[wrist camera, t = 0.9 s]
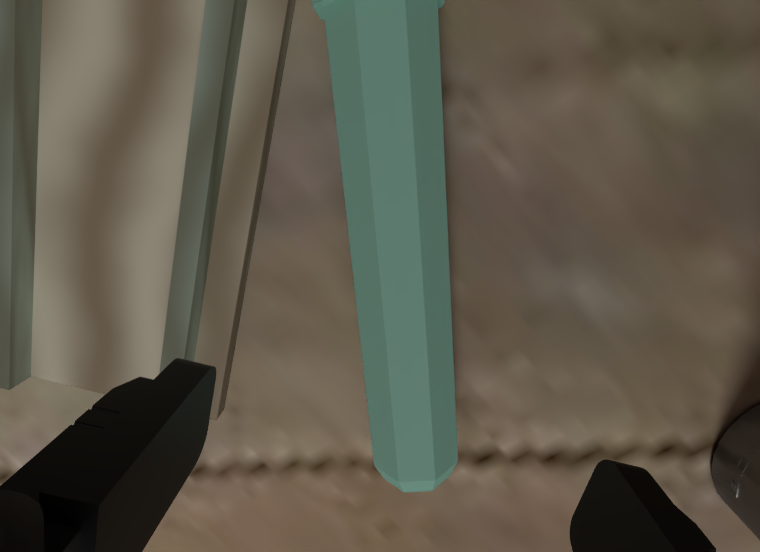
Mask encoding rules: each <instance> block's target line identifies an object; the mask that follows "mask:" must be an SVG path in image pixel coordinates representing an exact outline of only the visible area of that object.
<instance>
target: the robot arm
mask: <svg viewBox="0 0 760 552" xmlns="http://www.w3.org/2000/svg"><path fill="white" fill-rule="evenodd" d="M215 381H216V368H215V367H214V366H210V365H206V364H202V363H197V362H193V361H189V360H185V359H180V358H176V359H174V360H173V361H172V362H171V363H170V364H169V365H168V366H167V367H166V368H165V369H164V370H163V371H162V372H161V373H160V374H159V375H158V376H157V377H156V378H155V379H154V380H153V379H149V378H145V377H138V378H136V379H133V380H131V381H129V382H126V383H124V384H122V385H119V386H117V387H115V388H113V389H111V390H110V391H109V392H108V393H107V394H106V395H104V396H103V397H102V398H101V399H100V400H99V401H98V402H96V403H95V404H94V405H93V407H92V409H91V410H89V409H88V410H87V411H86V412H85V413H84V414H83V415H81V416H80V417H79V418H78V419H77V420H76V421H75V423H74V425H70V426H69V427H68V428H67V429H65V430H64V431H63V432H62V433H61V434H60V435H59V436H57V437H56V438H55V439H54V440H53V441H52V442H50V443H49V444H48V445H47V446H46V447H45V448H44V449H42V450H41V451H40V452H39V453H38V454H37V455H36V456H34V457H33V458H32V459H31V460H30V461H29V462H27V463H26V464H25V465H24V466H23V467H22V468H21V469H19V470H18V471H17V472H16V473H15V474H14V475H13V476H11V477H10V478H9V479H8V480H7V481H6V482H4V483H3V484H2V485H1V486H0V552H142V551H143V549H144V548H145V546H146V544H147V543H148V541H149V539H150V538H151V536H152V535H153V533H154V531H155V530H156V528H157V526H158V525H159V523H160V522H161V520H162V518H163V517H164V515H165V513H166V512H167V510H168V509H169V507H170V505H171V504H172V502H173V500H174V499H175V497H176V496H177V494H178V492H179V491H180V489H181V487H182V486H183V484H184V483H185V481H186V479H187V478H188V476H189V474H190V473H191V471H192V470H193V468H194V466H195V465H196V463H197V461H198V459H199V456H200V454H201V451H202V449H203V446H204V443H205V439H206V435H207V431H208V425H209V418H210V412H211V406H212V400H213V394H214V388H215ZM711 469H712V479H713V483H714V485H715V488H716V490H717V493H718V494H719V495H720V497H721V498H722V499H723V501H724V502H725V503H726V504H727V505H728V506H729V507H730V508H731V510H732V511H733V512H734V513H735V514H736V515H737V516H738V517H739V518H740V519H741V520H742V521H743V523H744V524H745V525H746V526H747V527H748V528H749V529H750V530H751V531H752V532H753V533H754V534H755V536H756V537H757V538H758V539H759V540H760V404H759V405H757V406H755V407H753V408H752V409H750V410H749V411H748V412H746V413H745V414H743V415H742V416H740V417H739V418H738V419H737V420H736V421H735V422H734V423H733V424H732V425H731V426H730V427H729V428H728V430H727V431H726V432H725V434H724V435H723V437H722V438H721V440H720V441H719V443H718V446H717V448H716V450H715V453H714V456H713V462H712V468H711ZM570 541H571V546H572V550H573V552H716V548H715V547H714V546H713V545H712V543H711V542H710V541H709V540H708V538H707V537H706V536H705V535H704V533H703V532H702V531H701V530H700V528H699V527H698V526H697V525H696V524H695V523H694V522H693V521H692V520H691V519H690V518H689V517H687V516H686V515H685V514H684V513H683V512H682V511H681V510H679V509H678V508H677V507H676V506H675V505H674V504H673V503H672V501H671V500H670V499H669V498H668V496H667V495H666V494H665V492H664V491H663V490H662V489H661V487H660V486H659V485H658V484H657V482H656V481H655V480H654V478H653V477H652V476H651V475H650V473H649V472H648V471H646V470H645V469H643V468H641V467H636V466H632V465H628V464H624V463H619V462H615V461H611V460H602V461H601V462H599V463H598V465H597V466H596V468H595V469H594V472H593V474H592V476H591V478H590V480H589V482H588V484H587V487H586V489H585V491H584V493H583V495H582V497H581V499H580V502H579V504H578V506H577V508H576V510H575V512H574V514H573V517H572V520H571V525H570Z"/></svg>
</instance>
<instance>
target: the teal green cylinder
mask: <svg viewBox="0 0 760 552" xmlns="http://www.w3.org/2000/svg"><path fill="white" fill-rule="evenodd" d="M444 2H445V0H312V6H313V8H314V10H315V11H316V13H317V14H318V16H319V18H320V19H321V20H325V26H326V35H327V44H328V53H329V62H330V71H331V80H332V89H333V98H334V107H335V116H336V125H337V134H338V143H339V152H340V161H341V170H342V179H343V188H344V197H345V206H346V215H347V224H348V233H349V242H350V251H351V260H352V269H353V278H354V287H355V296H356V305H357V314H358V323H359V332H360V341H361V350H362V359H363V368H364V377H365V386H366V395H367V404H368V413H369V422H370V431H371V440H372V449H373V459H374V466H375V467H376V468H377V470H378V471H379V472H380V474H381V475H382V476H383V478H384V479H386V480H387V481H388V482H390V483H391V484H393V485H394V486H396V487H397V488H398V489H400V490H401V491H403V492H419V491H433V490H434V489H435V488H436V487H437V486H438V485H440V484H441V483H442V482H443V481H444V480H445V479H446V478H448V477H449V476H450V475H451V473H452V471H453V469H454V467H455V466H456V464H457V462H458V451H457V428H456V405H455V383H454V360H453V337H452V315H451V292H450V269H449V246H448V224H447V201H446V178H445V156H444V133H443V110H442V88H441V65H440V42H439V19H438V8H441V7H443V4H444Z"/></svg>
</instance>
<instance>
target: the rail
mask: <svg viewBox="0 0 760 552" xmlns="http://www.w3.org/2000/svg"><path fill="white" fill-rule="evenodd" d="M294 6H295V0H0V388H3V389H7V390H10V389H12V388H13V387H15V386H16V385H18V384H19V383H21V382H23V381H24V380H26V379H27V378H29V377H35V378H40V379H44V380H48V381H52V382H56V383H61V384H65V385H69V386H73V387H77V388H82V389H86V390H90V391H94V392H98V393H103V394H107V393H108V392H109V391H110V390H111V389H113V388H115V387H117V386H119V385H122V384H124V383H126V382H129V381H131V380H133V379H136V378H138V377H145V378H149V379H153V380H154V379H155V378H156V377H157V376H158V375H159V374H160V373H161V372H162V371H163V370H164V369H165V368H166V367H167V366H168V365H169V364H170V363H171V362H172V361H173V360H174V359H176V358H180V359H185V360H189V361H193V362H197V363H202V364H206V365H210V366H214V367H215V368H216V381H215V388H214V394H213V400H212V406H211V412H210V418H209V419H212V420H217V419H218V417H219V416H220V414H221V413H222V411H223V410H224V406H225V400H226V395H227V389H228V383H229V378H230V372H231V366H232V360H233V355H234V349H235V343H236V338H237V332H238V326H239V320H240V315H241V309H242V303H243V298H244V292H245V286H246V280H247V275H248V269H249V263H250V258H251V252H252V246H253V240H254V235H255V229H256V223H257V218H258V212H259V206H260V200H261V195H262V189H263V183H264V178H265V172H266V166H267V160H268V155H269V149H270V143H271V138H272V132H273V126H274V120H275V115H276V109H277V103H278V98H279V92H280V86H281V80H282V75H283V69H284V63H285V58H286V52H287V46H288V40H289V35H290V29H291V23H292V18H293V12H294Z"/></svg>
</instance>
